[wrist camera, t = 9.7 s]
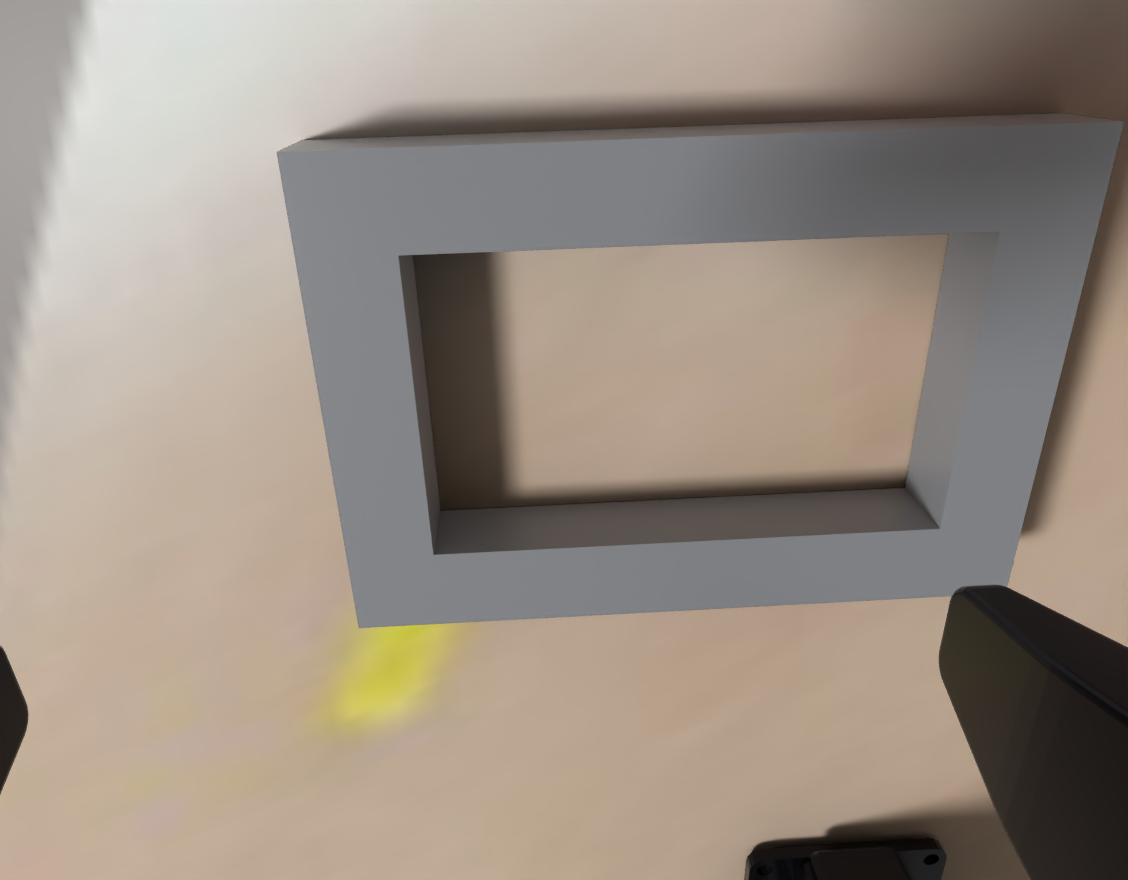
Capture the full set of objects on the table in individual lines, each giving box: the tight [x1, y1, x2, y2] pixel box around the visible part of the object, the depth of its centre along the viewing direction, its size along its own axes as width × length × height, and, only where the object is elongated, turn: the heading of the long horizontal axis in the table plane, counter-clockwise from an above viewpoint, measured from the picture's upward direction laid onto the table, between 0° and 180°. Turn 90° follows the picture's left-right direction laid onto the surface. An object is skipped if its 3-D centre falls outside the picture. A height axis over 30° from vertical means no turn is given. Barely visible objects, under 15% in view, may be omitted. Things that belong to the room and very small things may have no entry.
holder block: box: [277, 113, 1124, 628], centre depth 19 cm, size 11×16×2 cm
